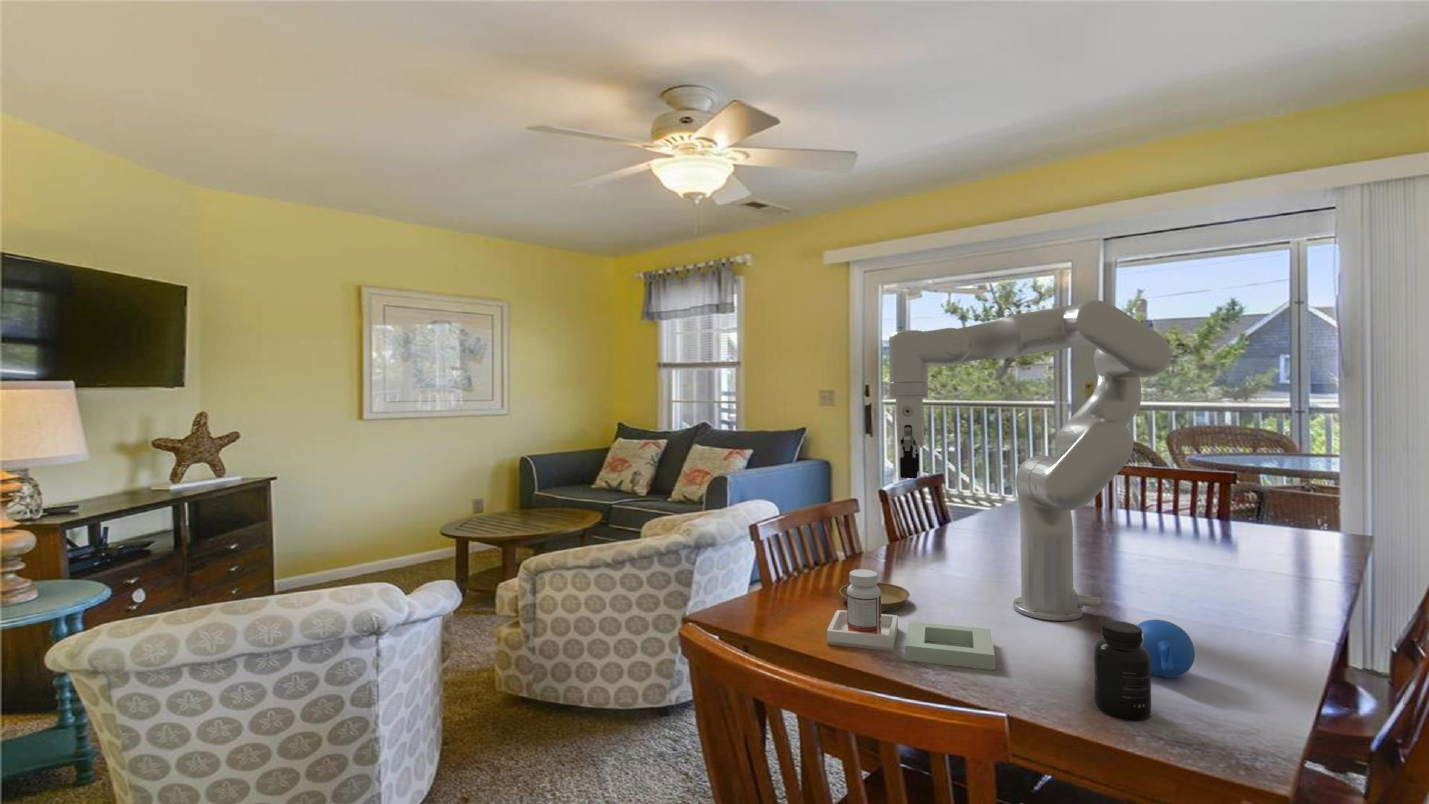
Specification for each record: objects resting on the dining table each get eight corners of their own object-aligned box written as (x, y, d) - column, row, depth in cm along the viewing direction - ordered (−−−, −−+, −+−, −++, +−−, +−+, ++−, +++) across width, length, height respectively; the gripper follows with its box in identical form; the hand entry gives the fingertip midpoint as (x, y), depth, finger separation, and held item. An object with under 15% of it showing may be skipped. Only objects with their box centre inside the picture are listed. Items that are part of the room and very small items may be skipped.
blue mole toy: (1100, 653, 112) (1099, 604, 112) (1183, 663, 107) (1182, 612, 107) (1112, 682, 101) (1111, 628, 101) (1205, 695, 96) (1205, 638, 96)
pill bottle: (862, 624, 126) (861, 566, 126) (888, 633, 121) (887, 573, 121) (840, 632, 122) (839, 572, 122) (867, 642, 117) (866, 579, 117)
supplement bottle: (1083, 700, 96) (1082, 618, 95) (1127, 697, 96) (1127, 616, 96) (1116, 724, 89) (1115, 636, 88) (1163, 721, 89) (1163, 633, 89)
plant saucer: (920, 613, 134) (920, 601, 134) (850, 617, 133) (850, 604, 133) (896, 592, 149) (895, 580, 149) (832, 594, 148) (831, 583, 148)
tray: (897, 628, 126) (897, 615, 125) (893, 651, 115) (893, 637, 115) (837, 622, 129) (836, 609, 129) (827, 644, 118) (826, 630, 118)
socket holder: (990, 642, 118) (989, 629, 117) (994, 670, 106) (994, 655, 106) (909, 634, 122) (908, 621, 122) (905, 660, 111) (905, 645, 111)
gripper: (926, 391, 124) (928, 481, 125) (928, 390, 141) (930, 470, 141) (886, 392, 127) (887, 480, 127) (892, 391, 143) (894, 469, 143)
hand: (910, 474), depth 134 cm, fingers open, 9 cm apart
